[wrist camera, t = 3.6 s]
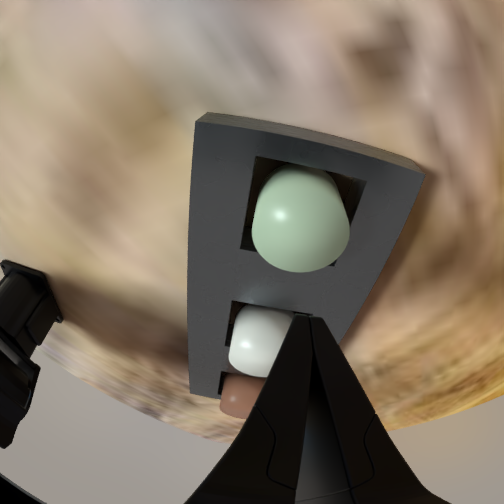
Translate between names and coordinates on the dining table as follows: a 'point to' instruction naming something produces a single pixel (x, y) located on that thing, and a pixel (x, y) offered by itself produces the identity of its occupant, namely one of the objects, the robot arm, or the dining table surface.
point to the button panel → (242, 246)
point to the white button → (258, 338)
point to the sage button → (300, 219)
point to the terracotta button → (240, 394)
